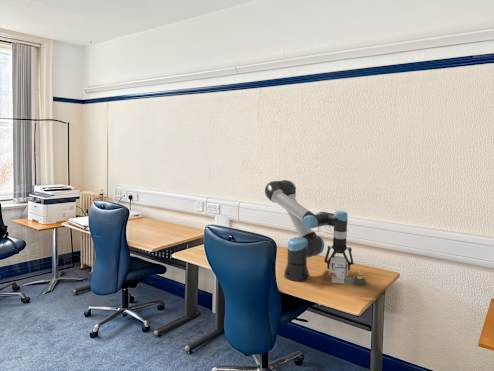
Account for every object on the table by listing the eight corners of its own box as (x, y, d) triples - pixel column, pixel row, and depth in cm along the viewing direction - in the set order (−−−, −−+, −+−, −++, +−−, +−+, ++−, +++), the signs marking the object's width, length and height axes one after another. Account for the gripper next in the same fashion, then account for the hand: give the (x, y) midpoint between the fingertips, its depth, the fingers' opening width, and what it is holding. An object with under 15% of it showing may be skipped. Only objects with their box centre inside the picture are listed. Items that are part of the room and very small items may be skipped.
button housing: (354, 284, 217) (354, 279, 217) (353, 280, 223) (353, 275, 223) (365, 285, 216) (365, 280, 216) (364, 281, 222) (364, 276, 221)
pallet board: (331, 284, 220) (331, 282, 220) (330, 277, 230) (330, 275, 230) (365, 287, 216) (365, 285, 216) (363, 280, 227) (363, 278, 227)
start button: (355, 283, 218) (356, 273, 217) (355, 280, 222) (355, 271, 221) (363, 284, 217) (364, 274, 216) (362, 281, 221) (363, 272, 220)
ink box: (329, 276, 224) (330, 256, 222) (332, 273, 228) (332, 254, 227) (344, 279, 220) (345, 259, 218) (346, 276, 224) (347, 257, 223)
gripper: (320, 238, 220) (319, 275, 222) (360, 240, 215) (358, 278, 218) (320, 234, 227) (319, 271, 230) (358, 237, 223) (356, 274, 225)
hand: (338, 274), depth 224 cm, fingers closed on ink box, 9 cm apart
